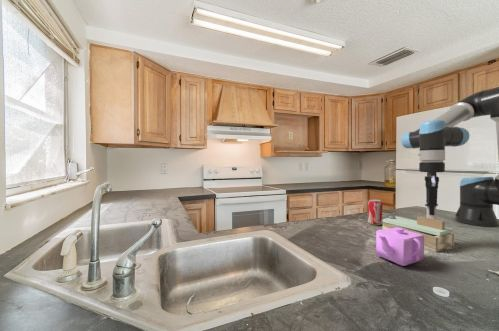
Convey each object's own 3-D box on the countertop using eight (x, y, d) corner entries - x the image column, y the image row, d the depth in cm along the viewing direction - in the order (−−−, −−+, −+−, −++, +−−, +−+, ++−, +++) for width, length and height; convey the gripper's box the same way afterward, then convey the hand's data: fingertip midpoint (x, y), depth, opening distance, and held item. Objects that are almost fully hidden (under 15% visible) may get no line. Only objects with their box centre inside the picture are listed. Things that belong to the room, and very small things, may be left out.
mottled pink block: (400, 275, 60) (400, 239, 60) (357, 255, 73) (357, 225, 72) (438, 263, 67) (438, 230, 67) (392, 247, 80) (393, 219, 80)
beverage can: (370, 225, 106) (370, 201, 106) (366, 222, 112) (366, 198, 112) (384, 226, 105) (384, 201, 105) (379, 222, 111) (379, 199, 111)
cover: (382, 221, 94) (382, 212, 94) (395, 218, 98) (395, 209, 98) (439, 236, 76) (440, 224, 76) (453, 231, 80) (453, 220, 80)
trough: (398, 231, 97) (398, 220, 97) (453, 248, 79) (453, 234, 78) (382, 234, 94) (382, 222, 94) (435, 252, 75) (435, 237, 75)
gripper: (418, 161, 91) (417, 217, 91) (420, 161, 80) (420, 225, 81) (442, 161, 87) (441, 220, 87) (447, 161, 76) (447, 229, 77)
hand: (431, 222), depth 84 cm, fingers closed
